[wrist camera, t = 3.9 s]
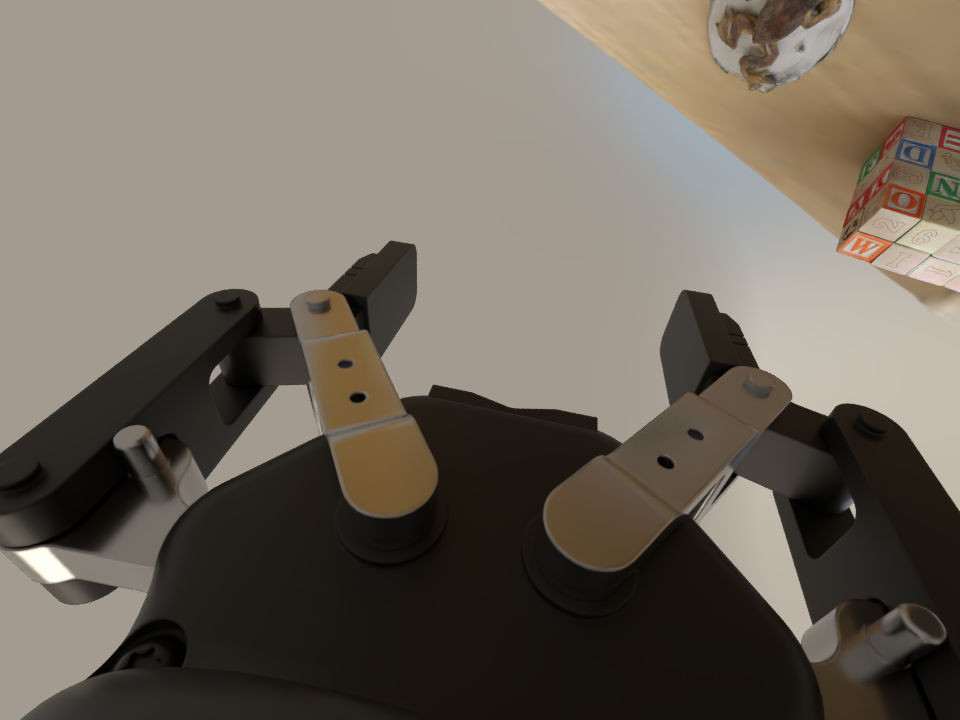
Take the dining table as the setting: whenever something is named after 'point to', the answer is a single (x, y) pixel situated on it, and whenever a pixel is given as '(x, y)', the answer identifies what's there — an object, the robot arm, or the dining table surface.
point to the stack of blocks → (909, 205)
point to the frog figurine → (774, 37)
